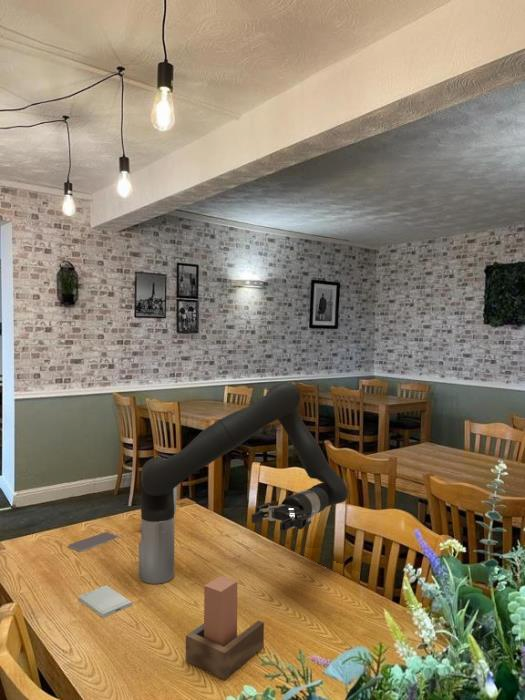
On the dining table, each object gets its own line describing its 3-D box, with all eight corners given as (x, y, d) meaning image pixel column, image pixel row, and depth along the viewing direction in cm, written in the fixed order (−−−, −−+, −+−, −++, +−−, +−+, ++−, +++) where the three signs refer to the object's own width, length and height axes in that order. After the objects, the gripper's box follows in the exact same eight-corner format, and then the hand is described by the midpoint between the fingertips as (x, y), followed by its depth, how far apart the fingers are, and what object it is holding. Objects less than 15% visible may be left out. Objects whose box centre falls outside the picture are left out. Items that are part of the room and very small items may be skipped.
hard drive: (78, 595, 134) (103, 613, 125) (107, 584, 140) (132, 600, 131) (78, 602, 134) (103, 620, 125) (107, 590, 140) (132, 607, 131)
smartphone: (119, 536, 174) (80, 550, 162) (119, 539, 174) (80, 553, 162) (106, 531, 179) (66, 545, 167) (106, 534, 179) (66, 547, 167)
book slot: (185, 661, 109) (185, 635, 109) (226, 631, 120) (226, 607, 120) (224, 680, 103) (225, 653, 103) (263, 647, 114) (263, 622, 114)
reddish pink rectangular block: (203, 660, 109) (204, 585, 108) (220, 648, 113) (220, 575, 113) (220, 668, 106) (221, 591, 106) (236, 655, 111) (237, 581, 110)
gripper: (279, 488, 145) (244, 502, 132) (324, 498, 137) (291, 514, 124) (278, 514, 145) (243, 531, 132) (323, 526, 137) (290, 545, 124)
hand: (266, 523), depth 128 cm, fingers open, 8 cm apart
